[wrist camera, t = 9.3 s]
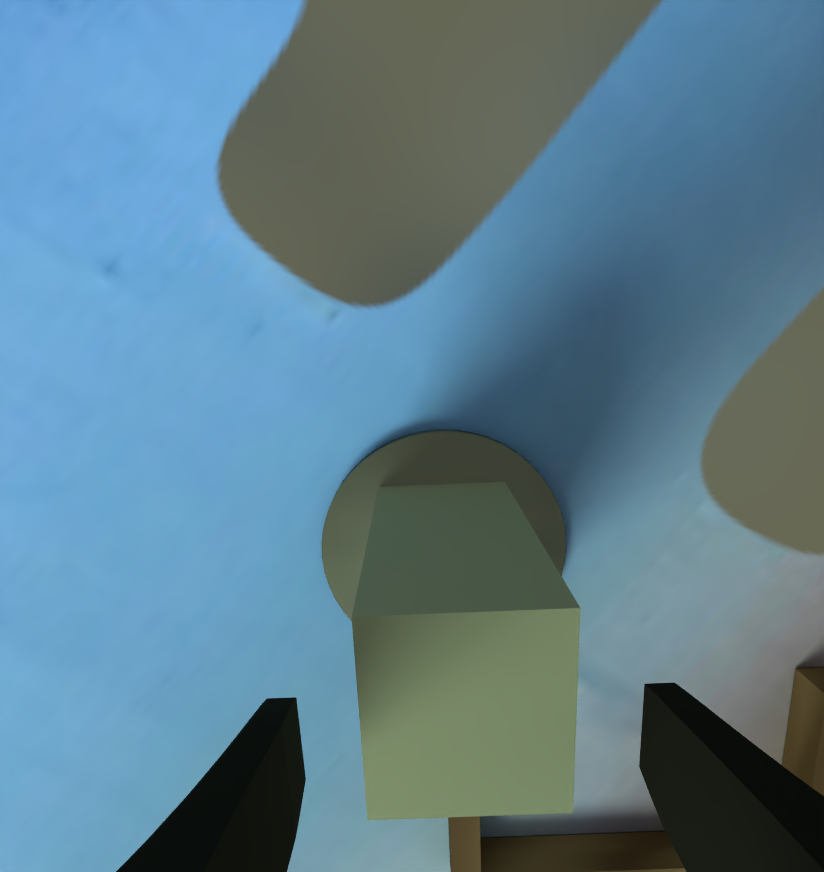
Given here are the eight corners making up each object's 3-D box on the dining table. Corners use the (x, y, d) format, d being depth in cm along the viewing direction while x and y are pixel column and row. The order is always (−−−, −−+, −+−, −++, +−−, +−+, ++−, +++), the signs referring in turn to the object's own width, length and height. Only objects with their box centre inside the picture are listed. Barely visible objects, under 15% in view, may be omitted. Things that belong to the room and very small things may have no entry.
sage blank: (504, 481, 17) (579, 607, 10) (505, 607, 18) (572, 813, 11) (378, 486, 17) (351, 616, 10) (386, 611, 19) (367, 820, 11)
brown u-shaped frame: (826, 667, 20) (859, 694, 18) (797, 847, 22) (825, 885, 20) (443, 683, 20) (445, 711, 18) (450, 860, 22) (452, 899, 20)
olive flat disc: (564, 423, 17) (568, 426, 17) (559, 645, 19) (563, 653, 19) (313, 435, 18) (310, 438, 17) (334, 655, 20) (332, 663, 19)
